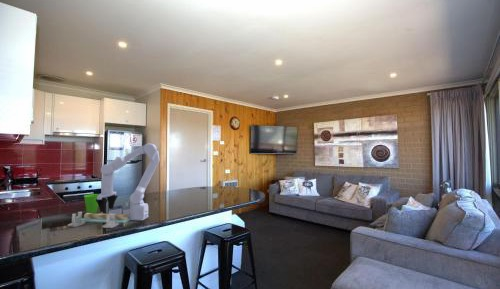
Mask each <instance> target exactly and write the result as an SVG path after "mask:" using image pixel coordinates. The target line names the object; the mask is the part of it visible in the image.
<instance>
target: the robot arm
mask: <svg viewBox="0 0 500 289" xmlns="http://www.w3.org/2000/svg"><path fill="white" fill-rule="evenodd" d="M144 154H146V155H147V157H148V159H149V163H148V165H147V167H146V169H145V170H144V173H143V175H142V177H141V179H140V181H139V183H138V185H137V187H136V188H135V189H134V191H133V193H131V194H130V195H129V201H130V202H129V217H130V219H129V221H144V220H146V219H147V218H149V217H150V216H149V204H148V203H147V202H146V203H145V201H144V198H145V191H146V190H147V187H148V185H149V184H150V181H151V179H152V177H153V175H154V173H155V170H156V169H157V167H158V165H159V163H160V154H159V148H158V147H157V145H156V144H154V143H151V142H148V143H146V144H144V145H141V146H139V147H137V148H136V149H134V150H133V151H131V152H129V153H128V154H126V155H124V156H115V159H113V160H111V161H109V162H107V163H106V164H103V165H102V166H101V168H100V173H101V191H100V192H101V193H98V194H99V195H98V196H97V199H96V202H97V203H98V209H99V213H100V212H101V213H105V212H106V205H107V204H108V206H107V207H108V209H110V210H111V209H112V210H113V208H114V206H115V202H116V201H117V199H118V195H117V191H114V173H115V172H116V171H118V170H119V169H121V168H123V167H125V166H126V165H127V162H128V161H131V160H133V159H134V158H136V157H137V156H139V155H144Z"/></svg>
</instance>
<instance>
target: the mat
mask: <svg viewBox="0 0 500 289" xmlns="http://www.w3.org/2000/svg"><path fill="white" fill-rule="evenodd" d="M129 219H130V216H128V219H127V220H115V222H116V223H119V224H125V223H127V222H129V221H130V220H129ZM82 221H85V222H86V223H104V224H106V219H87V218H84V217H82Z"/></svg>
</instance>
